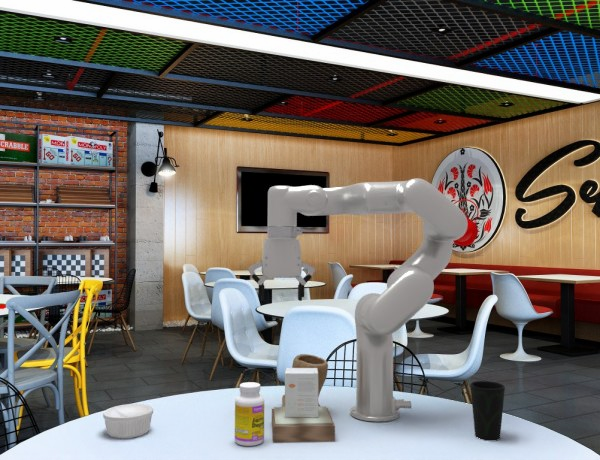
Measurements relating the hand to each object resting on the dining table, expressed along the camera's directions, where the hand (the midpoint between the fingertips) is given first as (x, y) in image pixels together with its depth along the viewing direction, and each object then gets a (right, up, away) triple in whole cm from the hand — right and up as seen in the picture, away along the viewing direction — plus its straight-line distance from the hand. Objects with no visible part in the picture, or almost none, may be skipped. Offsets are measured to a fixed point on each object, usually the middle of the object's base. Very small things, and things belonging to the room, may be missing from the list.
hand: (281, 300), depth 148 cm
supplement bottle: (-7, -30, -18) cm, 36 cm away
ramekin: (-36, -30, -12) cm, 48 cm away
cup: (+49, -30, -14) cm, 59 cm away
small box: (+5, -26, -11) cm, 29 cm away
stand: (+5, -30, -11) cm, 32 cm away
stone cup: (+6, -31, +5) cm, 31 cm away
